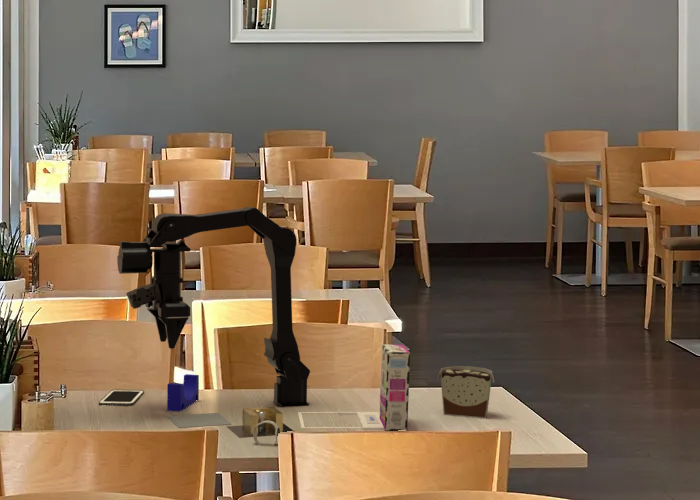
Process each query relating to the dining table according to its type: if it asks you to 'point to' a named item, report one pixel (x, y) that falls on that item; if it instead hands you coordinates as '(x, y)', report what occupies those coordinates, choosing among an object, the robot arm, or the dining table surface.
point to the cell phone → (121, 397)
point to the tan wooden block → (252, 418)
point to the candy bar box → (394, 387)
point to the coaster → (198, 420)
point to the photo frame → (366, 418)
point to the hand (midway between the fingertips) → (167, 344)
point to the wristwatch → (262, 423)
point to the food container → (465, 391)
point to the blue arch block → (182, 393)
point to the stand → (261, 428)
